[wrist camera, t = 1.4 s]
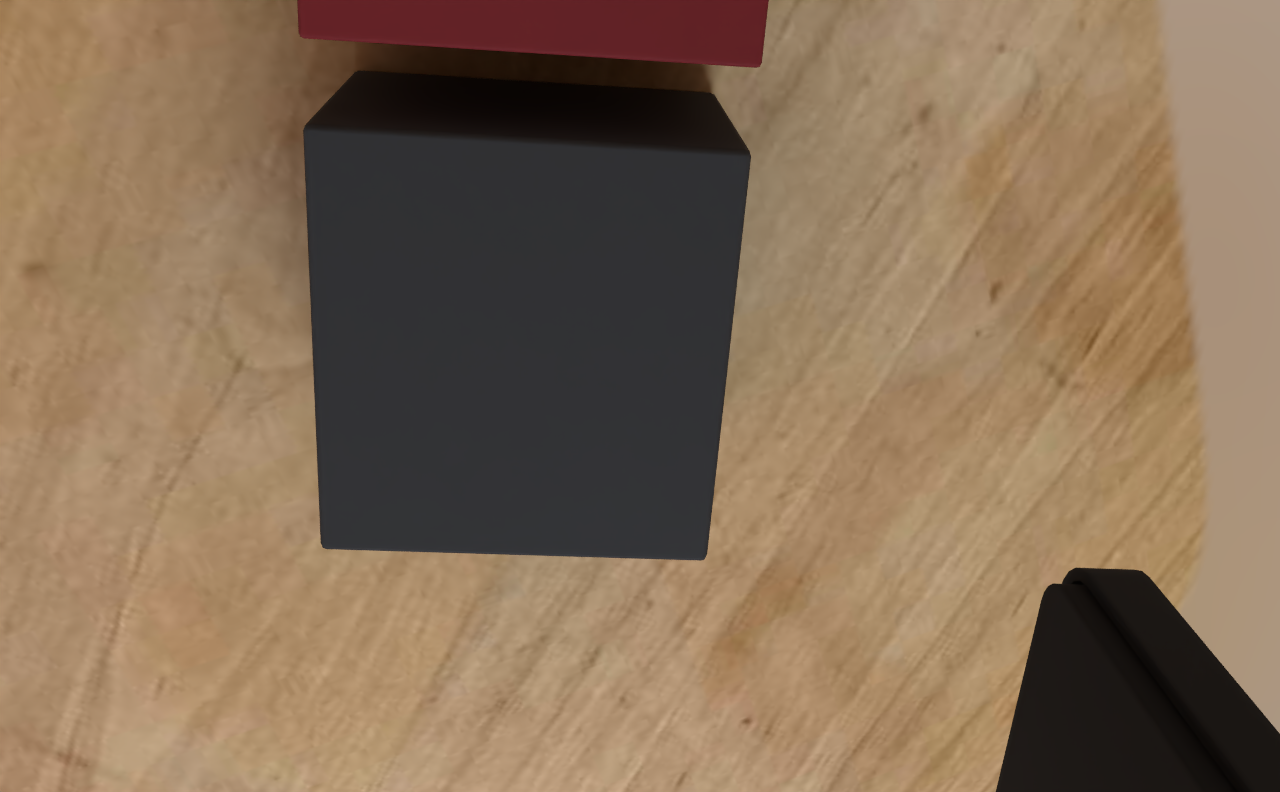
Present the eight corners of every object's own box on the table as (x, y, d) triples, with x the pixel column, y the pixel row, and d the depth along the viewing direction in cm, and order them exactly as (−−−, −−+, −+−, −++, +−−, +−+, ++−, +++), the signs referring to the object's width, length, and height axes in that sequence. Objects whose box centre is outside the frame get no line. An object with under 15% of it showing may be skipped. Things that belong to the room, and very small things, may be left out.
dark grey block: (353, 69, 18) (302, 124, 14) (715, 92, 19) (752, 151, 15) (362, 426, 21) (320, 550, 17) (682, 439, 21) (707, 563, 17)
